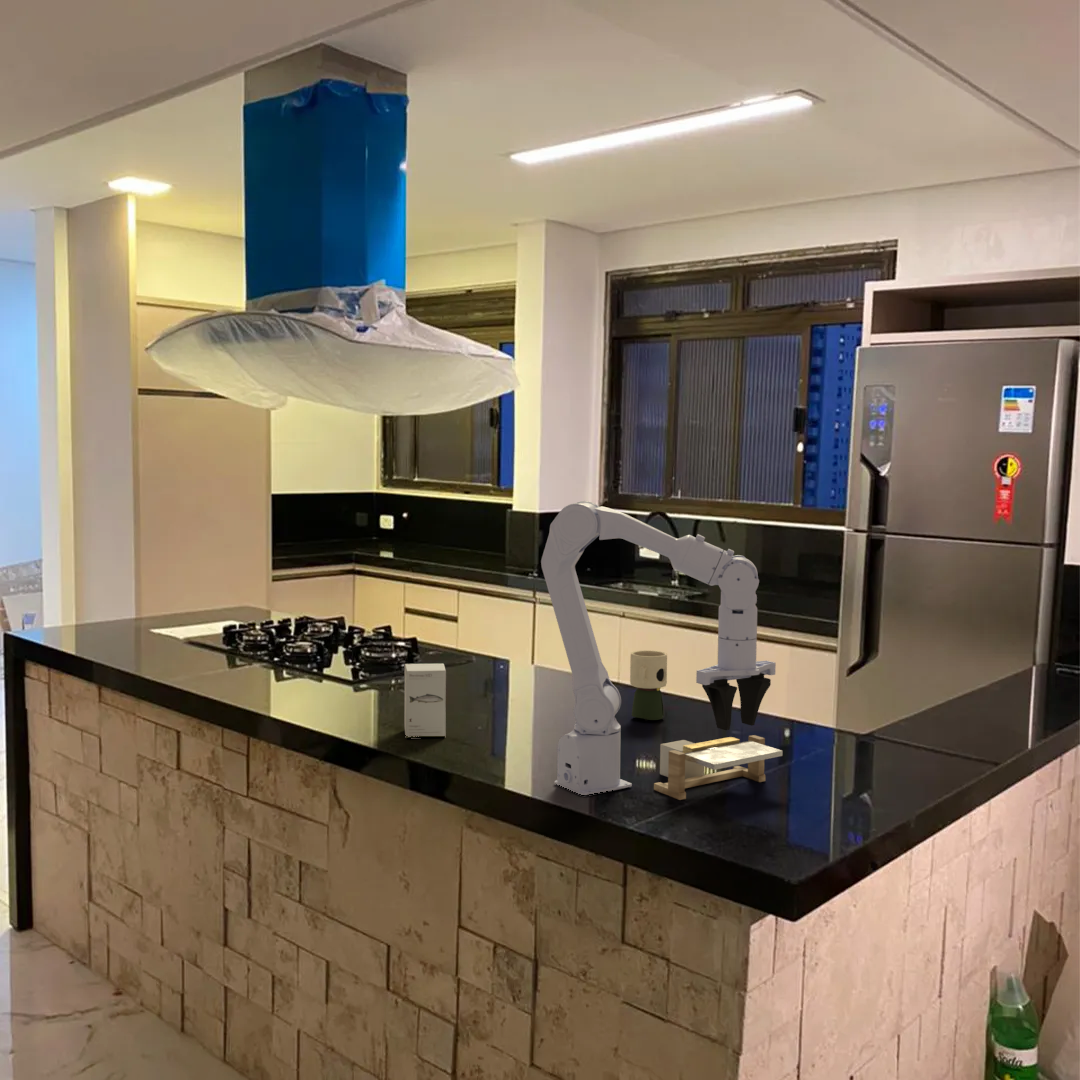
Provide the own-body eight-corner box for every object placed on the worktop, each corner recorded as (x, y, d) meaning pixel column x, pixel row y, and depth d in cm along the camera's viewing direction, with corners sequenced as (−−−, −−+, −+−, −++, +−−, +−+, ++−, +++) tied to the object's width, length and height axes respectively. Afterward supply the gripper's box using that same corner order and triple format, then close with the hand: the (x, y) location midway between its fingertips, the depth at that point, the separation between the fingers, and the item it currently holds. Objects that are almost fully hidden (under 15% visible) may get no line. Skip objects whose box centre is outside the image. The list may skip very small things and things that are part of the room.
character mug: (659, 727, 206) (660, 659, 205) (622, 724, 208) (623, 657, 207) (671, 714, 216) (673, 650, 215) (637, 711, 218) (638, 647, 217)
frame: (679, 800, 162) (680, 755, 162) (653, 789, 167) (654, 746, 167) (765, 781, 172) (766, 738, 172) (738, 771, 177) (739, 730, 177)
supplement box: (405, 740, 195) (405, 670, 194) (404, 729, 203) (403, 662, 202) (446, 738, 197) (446, 669, 196) (443, 728, 204) (443, 662, 203)
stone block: (680, 782, 171) (680, 751, 171) (659, 774, 176) (660, 744, 175) (704, 777, 174) (704, 746, 174) (683, 769, 178) (683, 739, 178)
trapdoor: (713, 772, 158) (713, 762, 158) (671, 758, 166) (672, 747, 166) (783, 758, 166) (783, 747, 166) (740, 744, 174) (740, 734, 174)
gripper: (720, 645, 156) (718, 738, 157) (791, 636, 164) (789, 725, 165) (687, 638, 162) (686, 728, 163) (757, 630, 170) (755, 716, 171)
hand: (735, 726), depth 165 cm, fingers open, 5 cm apart
